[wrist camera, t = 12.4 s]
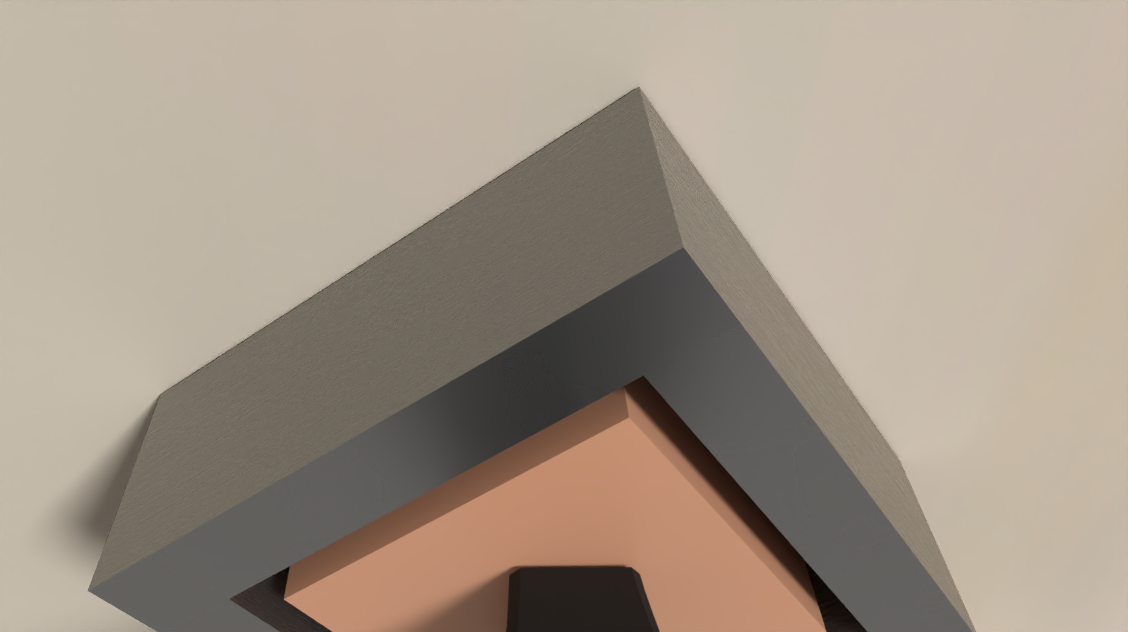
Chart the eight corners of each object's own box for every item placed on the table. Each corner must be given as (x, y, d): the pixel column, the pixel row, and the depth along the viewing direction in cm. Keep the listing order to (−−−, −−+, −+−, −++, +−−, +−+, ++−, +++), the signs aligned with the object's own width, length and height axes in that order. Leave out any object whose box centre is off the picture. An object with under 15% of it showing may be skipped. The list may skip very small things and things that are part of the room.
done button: (786, 501, 13) (825, 631, 12) (519, 627, 15) (523, 758, 13) (607, 290, 11) (628, 416, 9) (308, 463, 12) (283, 599, 11)
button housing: (900, 461, 14) (981, 642, 12) (498, 648, 17) (500, 832, 14) (638, 87, 11) (683, 246, 8) (160, 395, 13) (88, 590, 10)
